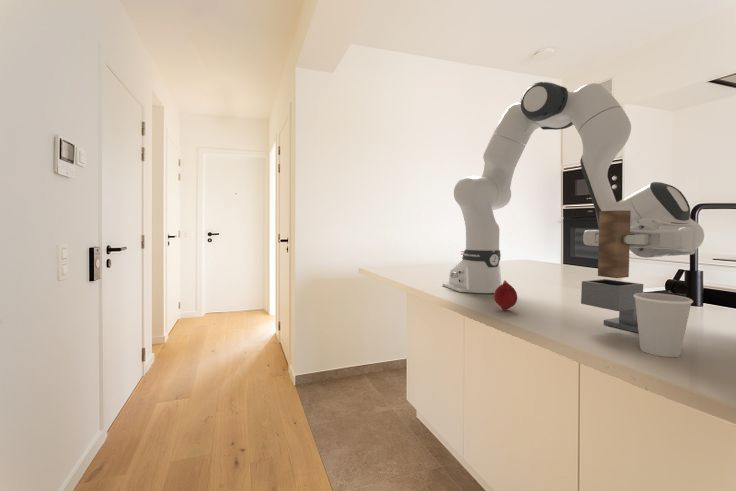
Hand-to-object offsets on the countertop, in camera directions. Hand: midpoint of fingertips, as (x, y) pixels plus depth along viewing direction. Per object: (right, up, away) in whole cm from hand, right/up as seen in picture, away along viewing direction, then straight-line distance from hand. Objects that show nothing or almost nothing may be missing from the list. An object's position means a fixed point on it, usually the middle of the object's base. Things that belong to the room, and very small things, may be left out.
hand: (611, 239), depth 78 cm
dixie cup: (+1, -21, -11) cm, 24 cm away
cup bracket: (+3, -20, +3) cm, 20 cm away
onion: (-15, -19, +21) cm, 32 cm away
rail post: (+1, -8, +1) cm, 8 cm away
